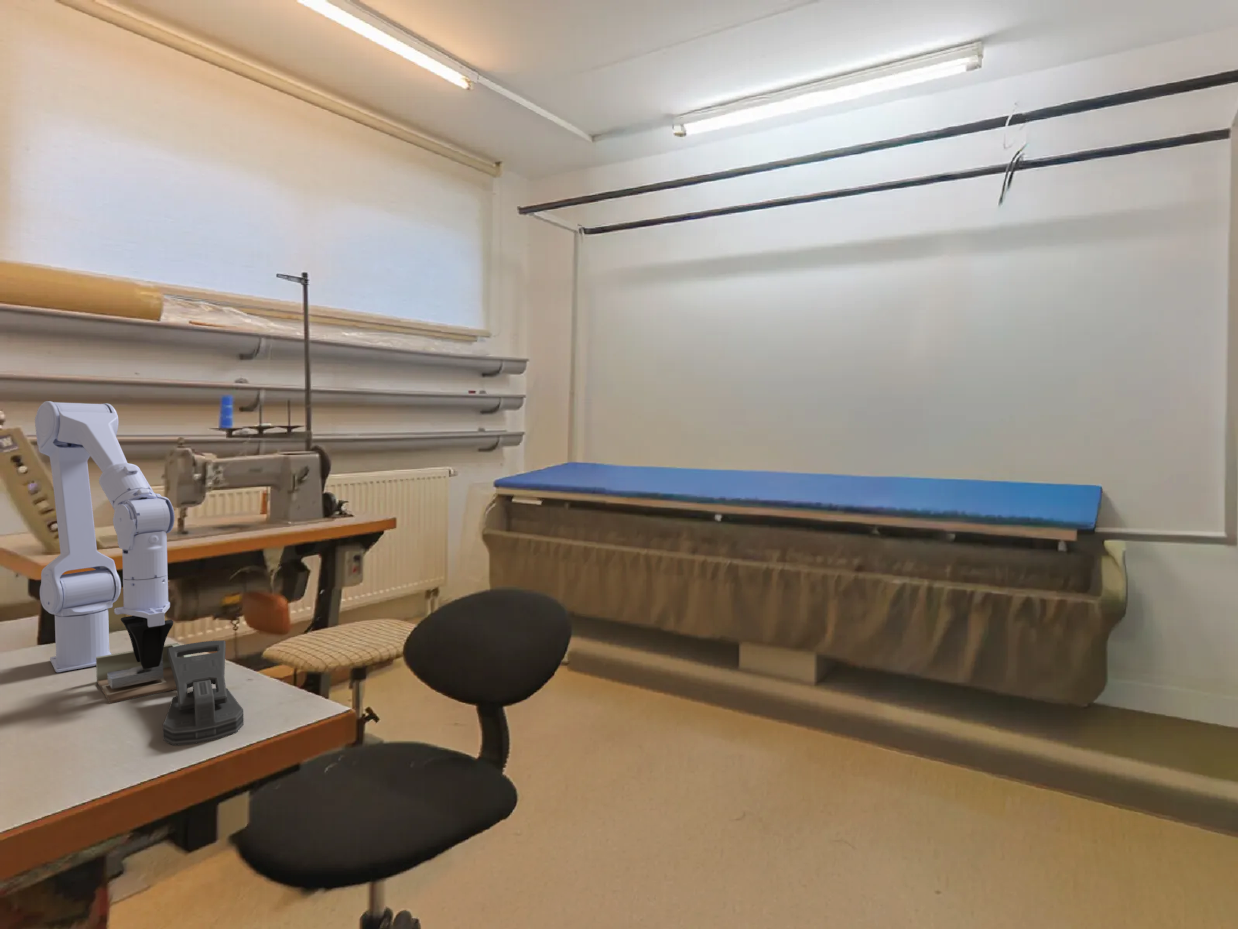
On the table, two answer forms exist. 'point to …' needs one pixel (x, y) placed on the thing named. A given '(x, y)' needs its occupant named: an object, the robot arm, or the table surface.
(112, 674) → the angle bracket
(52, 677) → the table surface
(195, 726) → the zipper pull
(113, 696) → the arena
